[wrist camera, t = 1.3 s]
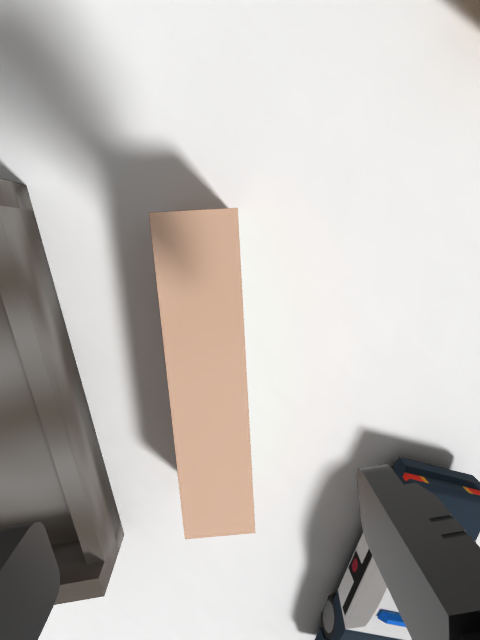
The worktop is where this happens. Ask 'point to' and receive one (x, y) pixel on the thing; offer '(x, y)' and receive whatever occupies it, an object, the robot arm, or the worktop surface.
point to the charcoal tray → (48, 416)
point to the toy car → (364, 576)
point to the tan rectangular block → (206, 366)
